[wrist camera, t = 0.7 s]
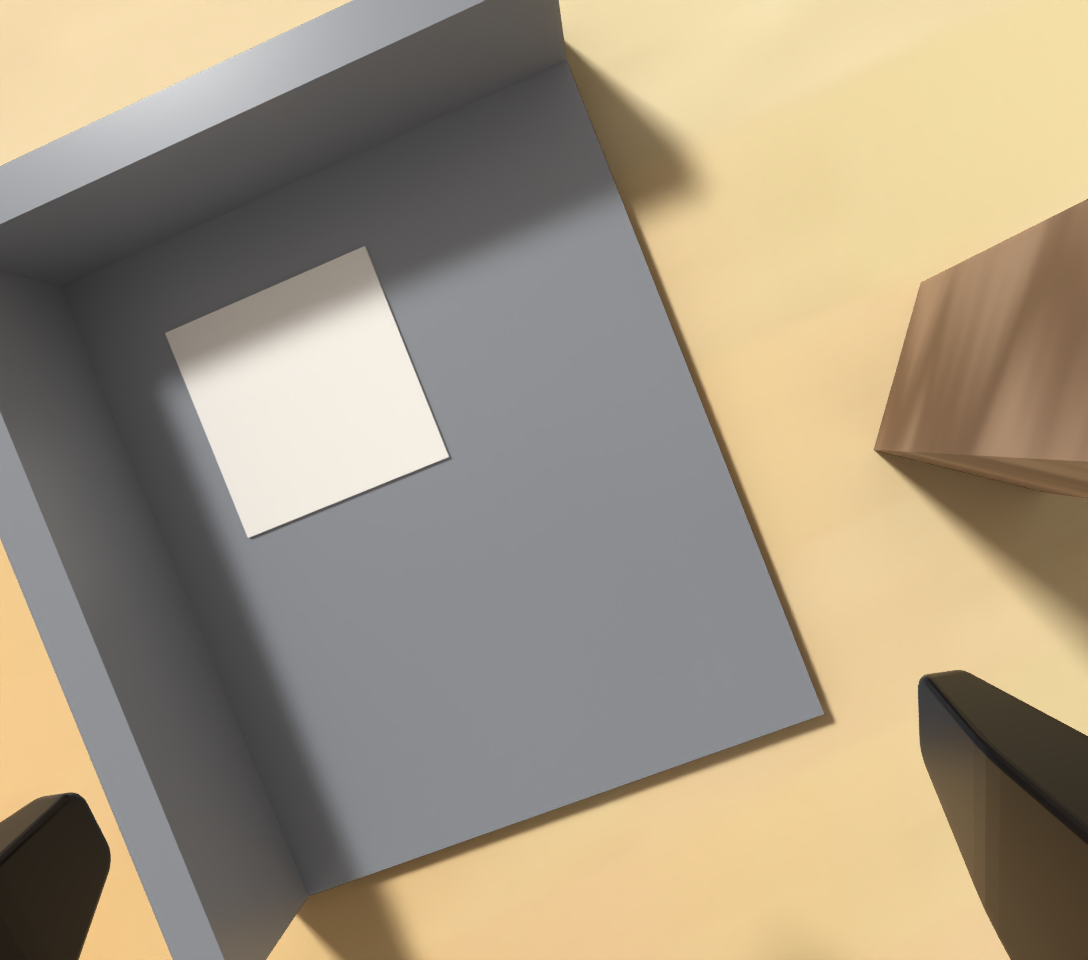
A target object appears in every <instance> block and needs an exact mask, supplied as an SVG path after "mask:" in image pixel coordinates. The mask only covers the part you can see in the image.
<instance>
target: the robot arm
mask: <svg viewBox="0 0 1088 960" xmlns="http://www.w3.org/2000/svg"><path fill="white" fill-rule="evenodd" d="M918 705H919V735H920V747H921V752H922V756H923V760H924V763H925V766H926V768H927V771H928V773H929V776H930V778H931V781H932V783H933V786H934V788H935V791H936V793H937V795H938V798H939V800H940V803H941V805H942V808H943V810H944V813H945V815H946V817H947V820H948V822H949V825H950V827H951V830H952V832H953V835H954V837H955V839H956V842H957V844H958V847H959V849H960V852H961V854H962V857H963V859H964V861H965V864H966V866H967V869H968V871H969V874H970V876H971V879H972V881H973V884H974V886H975V888H976V891H977V893H978V895H979V898H980V900H981V902H982V905H983V907H984V909H985V911H986V913H987V915H988V917H989V919H990V921H991V923H992V925H993V927H994V929H995V931H996V933H997V935H998V937H999V939H1000V941H1001V943H1002V944H1003V946H1004V948H1005V950H1006V952H1007V954H1008V955H1009V957H1010V959H1011V960H1088V736H1087V735H1085V734H1083V733H1081V732H1079V731H1077V730H1075V729H1073V728H1072V727H1070V726H1068V725H1066V724H1064V723H1062V722H1060V721H1058V720H1057V719H1055V718H1053V717H1051V716H1049V715H1047V714H1045V713H1043V712H1042V711H1040V710H1038V709H1036V708H1034V707H1032V706H1030V705H1029V704H1027V703H1025V702H1023V701H1021V700H1019V699H1017V698H1015V697H1014V696H1012V695H1010V694H1008V693H1006V692H1004V691H1002V690H1000V689H999V688H997V687H995V686H993V685H991V684H989V683H987V682H985V681H984V680H982V679H980V678H978V677H976V676H974V675H972V674H971V673H968V672H966V671H962V670H954V671H947V672H940V673H933V674H926V675H924V676H923V677H922V678H921V679H920V681H919V685H918ZM110 862H111V856H110V849H109V846H108V843H107V841H106V839H105V837H104V835H103V833H102V831H101V829H100V828H99V826H98V824H97V822H96V820H95V818H94V816H93V814H92V812H91V810H90V808H89V806H88V804H87V802H86V801H85V799H84V798H83V797H81V796H80V795H79V794H76V793H64V794H57V795H49V796H44V797H40V798H38V799H35V800H34V801H32V802H30V803H29V804H27V805H26V806H24V807H23V808H21V809H20V810H18V811H17V812H15V813H14V814H12V815H11V816H9V817H8V818H6V819H5V820H3V821H2V822H0V960H79V957H80V954H81V951H82V948H83V945H84V942H85V940H86V937H87V934H88V931H89V928H90V925H91V922H92V919H93V916H94V913H95V910H96V908H97V905H98V902H99V899H100V896H101V893H102V890H103V887H104V884H105V881H106V879H107V876H108V873H109V869H110Z"/></svg>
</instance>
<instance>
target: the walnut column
mask: <svg viewBox="0 0 1088 960" xmlns="http://www.w3.org/2000/svg"><path fill="white" fill-rule="evenodd" d="M874 450H877V451H881V452H885V453H889V454H893V455H897V456H901V457H905V458H909V459H913V460H917V461H921V462H925V463H929V464H933V465H937V466H941V467H945V468H949V469H953V470H957V471H961V472H965V473H969V474H974V475H978V476H982V477H986V478H990V479H994V480H998V481H1002V482H1006V483H1010V484H1014V485H1018V486H1022V487H1026V488H1030V489H1034V490H1038V491H1042V492H1047V493H1054V494H1062V495H1069V496H1077V497H1084V498H1088V199H1087V200H1085V201H1083V202H1081V203H1079V204H1077V205H1075V206H1073V207H1071V208H1069V209H1067V210H1065V211H1063V212H1061V213H1059V214H1057V215H1055V216H1053V217H1051V218H1049V219H1047V220H1045V221H1043V222H1041V223H1039V224H1037V225H1035V226H1033V227H1031V228H1029V229H1027V230H1025V231H1023V232H1021V233H1019V234H1017V235H1015V236H1013V237H1011V238H1009V239H1007V240H1005V241H1003V242H1001V243H999V244H997V245H995V246H993V247H991V248H989V249H987V250H985V251H983V252H981V253H979V254H977V255H975V256H973V257H971V258H969V259H967V260H965V261H963V262H961V263H959V264H957V265H955V266H953V267H951V268H949V269H947V270H945V271H943V272H941V273H939V274H937V275H935V276H933V277H931V278H929V279H927V280H925V281H923V282H921V284H920V288H919V291H918V295H917V299H916V302H915V306H914V309H913V313H912V316H911V320H910V323H909V327H908V330H907V334H906V338H905V341H904V345H903V348H902V352H901V355H900V359H899V362H898V366H897V370H896V373H895V377H894V380H893V384H892V387H891V391H890V394H889V398H888V401H887V405H886V409H885V412H884V416H883V419H882V423H881V426H880V430H879V433H878V437H877V441H876V444H875V448H874Z"/></svg>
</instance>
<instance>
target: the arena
mask: <svg viewBox="0 0 1088 960" xmlns="http://www.w3.org/2000/svg"><path fill="white" fill-rule="evenodd" d="M0 539H1V541H2V544H3V546H4V549H5V551H6V554H7V556H8V558H9V561H10V563H11V566H12V568H13V571H14V573H15V575H16V578H17V580H18V583H19V585H20V588H21V590H22V593H23V595H24V597H25V600H26V602H27V605H28V607H29V610H30V612H31V614H32V617H33V619H34V622H35V624H36V627H37V629H38V632H39V634H40V636H41V639H42V641H43V644H44V646H45V649H46V651H47V654H48V656H49V658H50V661H51V663H52V666H53V668H54V671H55V673H56V675H57V678H58V680H59V683H60V685H61V688H62V690H63V693H64V695H65V697H66V700H67V702H68V705H69V707H70V710H71V712H72V714H73V717H74V719H75V722H76V724H77V727H78V729H79V732H80V734H81V736H82V739H83V741H84V744H85V746H86V749H87V751H88V753H89V756H90V758H91V761H92V763H93V766H94V768H95V771H96V773H97V775H98V778H99V780H100V783H101V785H102V788H103V790H104V793H105V795H106V797H107V800H108V802H109V805H110V807H111V810H112V812H113V814H114V817H115V819H116V822H117V824H118V827H119V829H120V832H121V834H122V836H123V839H124V841H125V844H126V846H127V849H128V851H129V853H130V856H131V858H132V861H133V863H134V866H135V868H136V871H137V873H138V875H139V878H140V880H141V883H142V885H143V888H144V890H145V893H146V895H147V897H148V900H149V902H150V905H151V907H152V910H153V912H154V914H155V917H156V919H157V922H158V924H159V927H160V929H161V932H162V934H163V936H164V939H165V941H166V944H167V946H168V949H169V951H170V953H171V956H172V958H173V960H266V959H267V957H268V956H269V954H270V953H271V951H272V950H273V948H274V947H275V945H276V944H277V942H278V941H279V939H280V938H281V936H282V935H283V933H284V932H285V930H286V929H287V927H288V926H289V924H290V923H291V921H292V920H293V918H294V917H295V915H296V914H297V912H298V911H299V909H300V908H301V906H302V905H303V903H304V902H305V901H306V899H307V898H308V896H311V895H313V894H316V893H319V892H322V891H325V890H328V889H330V888H333V887H336V886H339V885H342V884H345V883H347V882H350V881H353V880H356V879H359V878H361V877H364V876H367V875H370V874H373V873H376V872H378V871H381V870H384V869H387V868H390V867H393V866H395V865H398V864H401V863H404V862H407V861H410V860H412V859H415V858H418V857H421V856H424V855H427V854H429V853H432V852H435V851H438V850H441V849H444V848H446V847H449V846H452V845H455V844H458V843H461V842H463V841H466V840H469V839H472V838H475V837H478V836H480V835H483V834H486V833H489V832H492V831H495V830H497V829H500V828H503V827H506V826H509V825H512V824H514V823H517V822H520V821H523V820H526V819H529V818H531V817H534V816H537V815H540V814H543V813H546V812H548V811H551V810H554V809H557V808H560V807H563V806H565V805H568V804H571V803H574V802H577V801H579V800H582V799H585V798H588V797H591V796H594V795H596V794H599V793H602V792H605V791H608V790H611V789H613V788H616V787H619V786H622V785H625V784H628V783H630V782H633V781H636V780H639V779H642V778H645V777H647V776H650V775H653V774H656V773H659V772H662V771H664V770H667V769H670V768H673V767H676V766H679V765H681V764H684V763H687V762H690V761H693V760H696V759H698V758H701V757H704V756H707V755H710V754H713V753H715V752H718V751H721V750H724V749H727V748H730V747H732V746H735V745H738V744H741V743H744V742H747V741H749V740H752V739H755V738H758V737H761V736H764V735H766V734H769V733H772V732H775V731H778V730H781V729H783V728H786V727H789V726H792V725H795V724H797V723H800V722H803V721H806V720H809V719H812V718H814V717H817V716H820V715H823V714H824V712H823V710H822V707H821V705H820V702H819V699H818V697H817V694H816V692H815V689H814V687H813V684H812V682H811V679H810V677H809V674H808V672H807V669H806V666H805V664H804V661H803V659H802V656H801V654H800V651H799V649H798V646H797V644H796V641H795V639H794V636H793V633H792V631H791V628H790V626H789V623H788V621H787V618H786V616H785V613H784V611H783V608H782V606H781V603H780V600H779V598H778V595H777V593H776V590H775V588H774V585H773V583H772V580H771V578H770V575H769V573H768V570H767V567H766V565H765V562H764V560H763V557H762V555H761V552H760V550H759V547H758V545H757V542H756V540H755V537H754V534H753V532H752V529H751V527H750V524H749V522H748V519H747V517H746V514H745V512H744V509H743V507H742V504H741V501H740V499H739V496H738V494H737V491H736V489H735V486H734V484H733V481H732V479H731V476H730V474H729V471H728V468H727V466H726V463H725V461H724V458H723V456H722V453H721V451H720V448H719V446H718V443H717V441H716V438H715V435H714V433H713V430H712V428H711V425H710V423H709V420H708V418H707V415H706V413H705V410H704V408H703V405H702V403H701V400H700V397H699V395H698V392H697V390H696V387H695V385H694V382H693V380H692V377H691V375H690V372H689V370H688V367H687V364H686V362H685V359H684V357H683V354H682V352H681V349H680V347H679V344H678V342H677V339H676V337H675V334H674V331H673V329H672V326H671V324H670V321H669V319H668V316H667V314H666V311H665V309H664V306H663V304H662V301H661V298H660V296H659V293H658V291H657V288H656V286H655V283H654V281H653V278H652V276H651V273H650V271H649V268H648V265H647V263H646V260H645V258H644V255H643V253H642V250H641V248H640V245H639V243H638V240H637V238H636V235H635V232H634V230H633V227H632V225H631V222H630V220H629V217H628V215H627V212H626V210H625V207H624V205H623V202H622V199H621V197H620V194H619V192H618V189H617V187H616V184H615V182H614V179H613V177H612V174H611V172H610V169H609V166H608V164H607V161H606V159H605V156H604V154H603V151H602V149H601V146H600V144H599V141H598V139H597V136H596V133H595V131H594V128H593V126H592V123H591V121H590V118H589V116H588V113H587V111H586V108H585V106H584V103H583V100H582V98H581V95H580V93H579V90H578V88H577V85H576V83H575V80H574V78H573V75H572V73H571V70H570V67H569V65H568V62H567V59H566V52H565V44H564V37H563V30H562V22H561V15H560V7H559V0H353V1H351V2H349V3H347V4H344V5H342V6H340V7H338V8H336V9H334V10H332V11H330V12H327V13H325V14H323V15H321V16H319V17H317V18H315V19H312V20H310V21H308V22H306V23H304V24H302V25H300V26H298V27H295V28H293V29H291V30H289V31H287V32H285V33H283V34H281V35H278V36H276V37H274V38H272V39H270V40H268V41H266V42H263V43H261V44H259V45H257V46H255V47H253V48H251V49H249V50H246V51H244V52H242V53H240V54H238V55H236V56H234V57H232V58H229V59H227V60H225V61H223V62H221V63H219V64H217V65H214V66H212V67H210V68H208V69H206V70H204V71H202V72H200V73H197V74H195V75H193V76H191V77H189V78H187V79H185V80H183V81H180V82H178V83H176V84H174V85H172V86H170V87H168V88H165V89H163V90H161V91H159V92H157V93H155V94H153V95H151V96H148V97H146V98H144V99H142V100H140V101H138V102H136V103H134V104H131V105H129V106H127V107H125V108H123V109H121V110H119V111H116V112H114V113H112V114H110V115H108V116H106V117H104V118H102V119H99V120H97V121H95V122H93V123H91V124H89V125H87V126H85V127H82V128H80V129H78V130H76V131H74V132H72V133H70V134H67V135H65V136H63V137H61V138H59V139H57V140H55V141H53V142H50V143H48V144H46V145H44V146H42V147H40V148H38V149H36V150H33V151H31V152H29V153H27V154H25V155H23V156H21V157H18V158H16V159H14V160H12V161H10V162H8V163H6V164H4V165H1V166H0Z"/></svg>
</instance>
